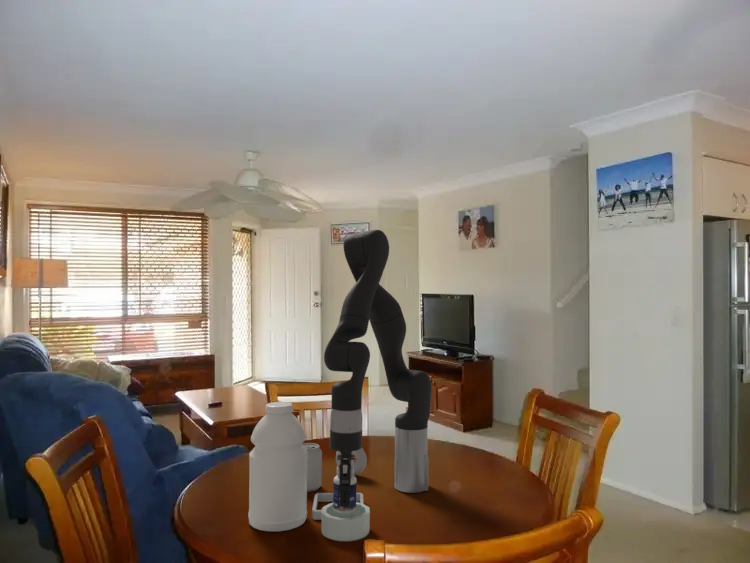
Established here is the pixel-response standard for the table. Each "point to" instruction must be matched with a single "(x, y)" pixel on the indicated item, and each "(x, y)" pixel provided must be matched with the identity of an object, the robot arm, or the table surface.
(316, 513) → the tray
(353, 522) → the bowl
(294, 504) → the bottle
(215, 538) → the table surface
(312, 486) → the can
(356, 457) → the donut
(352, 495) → the pill bottle
